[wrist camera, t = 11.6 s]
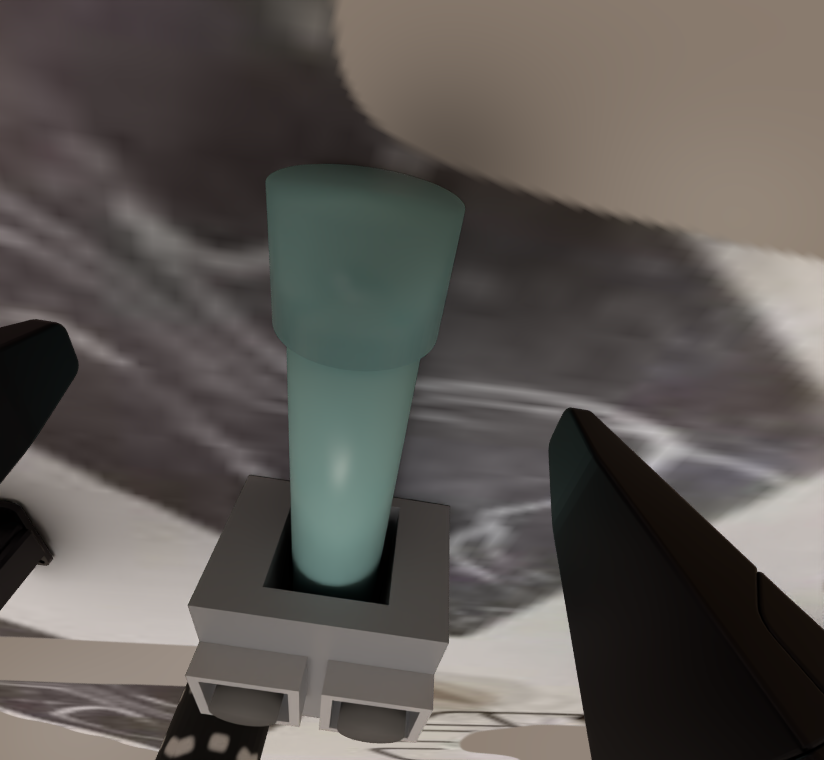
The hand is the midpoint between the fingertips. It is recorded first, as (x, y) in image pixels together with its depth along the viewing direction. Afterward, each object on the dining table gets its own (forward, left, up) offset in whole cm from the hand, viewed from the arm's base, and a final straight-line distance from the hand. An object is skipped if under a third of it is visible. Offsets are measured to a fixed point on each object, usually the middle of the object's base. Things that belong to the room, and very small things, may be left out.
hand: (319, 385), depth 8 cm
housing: (0, -21, -9) cm, 23 cm away
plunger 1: (-3, -21, -2) cm, 21 cm away
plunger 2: (+3, -21, -2) cm, 21 cm away
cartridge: (0, -8, -9) cm, 12 cm away
